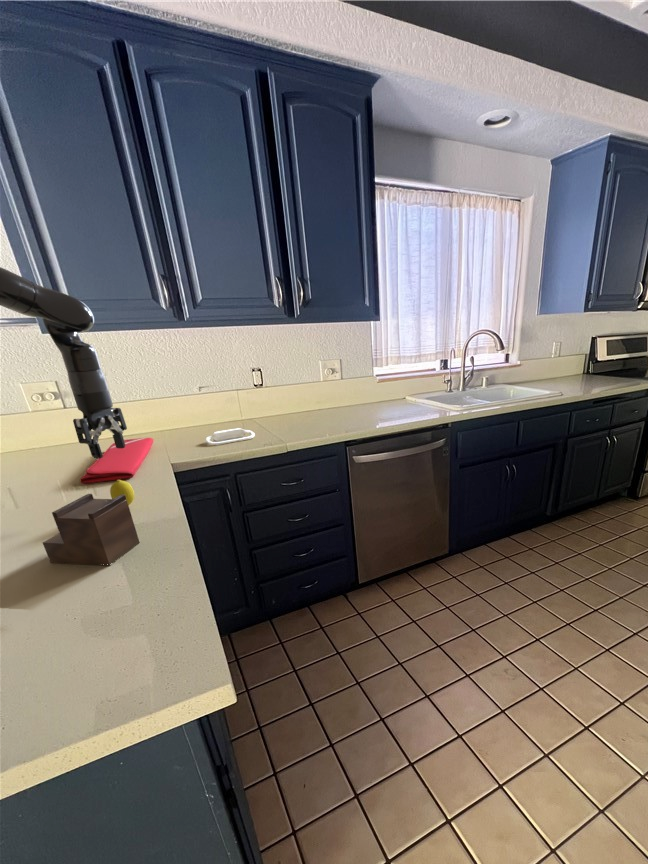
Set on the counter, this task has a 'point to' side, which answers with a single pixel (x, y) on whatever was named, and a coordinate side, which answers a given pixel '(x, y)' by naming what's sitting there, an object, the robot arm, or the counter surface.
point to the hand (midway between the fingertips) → (110, 452)
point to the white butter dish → (229, 436)
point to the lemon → (122, 490)
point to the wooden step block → (92, 531)
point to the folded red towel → (119, 461)
